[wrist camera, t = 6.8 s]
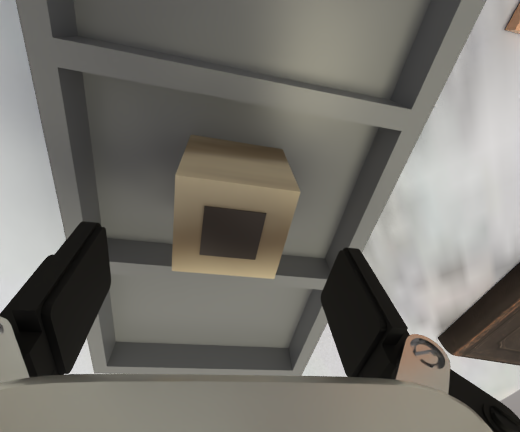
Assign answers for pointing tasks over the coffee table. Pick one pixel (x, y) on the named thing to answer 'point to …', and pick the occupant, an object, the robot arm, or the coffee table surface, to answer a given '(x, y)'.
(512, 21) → the terracotta tile
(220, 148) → the birch cube
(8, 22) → the coffee table surface
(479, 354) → the hardcover book
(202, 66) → the grey organiser
